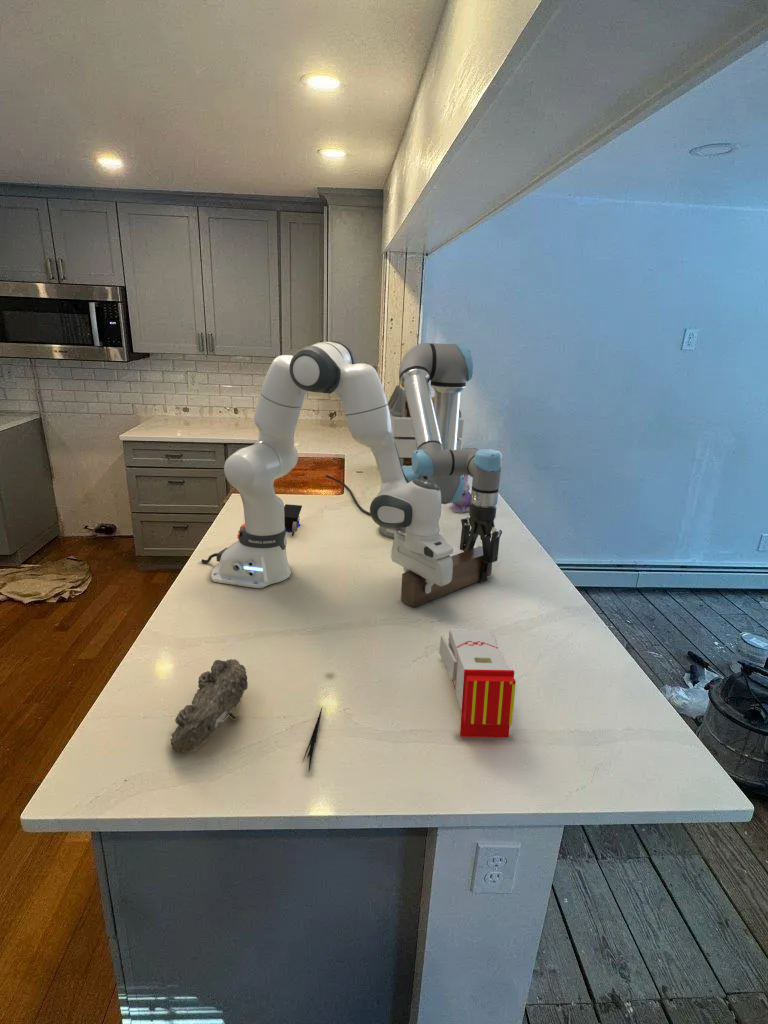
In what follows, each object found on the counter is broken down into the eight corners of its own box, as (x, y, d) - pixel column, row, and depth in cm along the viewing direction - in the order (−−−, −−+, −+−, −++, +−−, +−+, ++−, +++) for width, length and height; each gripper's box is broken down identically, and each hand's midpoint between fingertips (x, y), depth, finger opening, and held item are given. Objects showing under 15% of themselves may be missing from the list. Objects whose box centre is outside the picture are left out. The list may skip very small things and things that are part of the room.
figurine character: (298, 542, 192) (303, 521, 206) (297, 522, 189) (302, 503, 202) (278, 541, 192) (284, 521, 205) (277, 521, 189) (283, 502, 202)
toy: (489, 613, 130) (525, 677, 101) (485, 667, 133) (518, 744, 104) (437, 612, 130) (457, 676, 101) (434, 666, 133) (453, 743, 103)
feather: (331, 679, 122) (336, 673, 122) (307, 777, 96) (313, 769, 95) (324, 675, 122) (329, 669, 121) (298, 772, 95) (304, 764, 95)
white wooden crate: (381, 463, 289) (385, 382, 275) (444, 464, 292) (450, 384, 279) (389, 482, 257) (393, 392, 243) (459, 483, 261) (467, 394, 247)
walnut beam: (400, 600, 154) (402, 573, 151) (478, 569, 173) (480, 545, 171) (413, 607, 150) (415, 580, 147) (491, 575, 170) (493, 551, 167)
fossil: (195, 660, 117) (247, 628, 112) (227, 691, 120) (279, 661, 115) (146, 746, 98) (206, 711, 93) (185, 779, 101) (245, 748, 96)
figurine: (459, 514, 221) (463, 477, 216) (445, 506, 229) (448, 470, 224) (479, 511, 225) (483, 475, 220) (464, 503, 234) (467, 468, 228)
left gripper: (386, 530, 154) (384, 576, 158) (441, 556, 139) (436, 605, 144) (403, 525, 158) (401, 570, 162) (458, 550, 143) (453, 598, 148)
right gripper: (451, 497, 166) (444, 570, 173) (500, 515, 153) (491, 592, 161) (468, 493, 170) (461, 564, 178) (517, 510, 158) (507, 585, 165)
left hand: (418, 587), depth 153 cm, fingers closed on walnut beam, 5 cm apart
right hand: (475, 577), depth 169 cm, fingers closed on walnut beam, 5 cm apart
